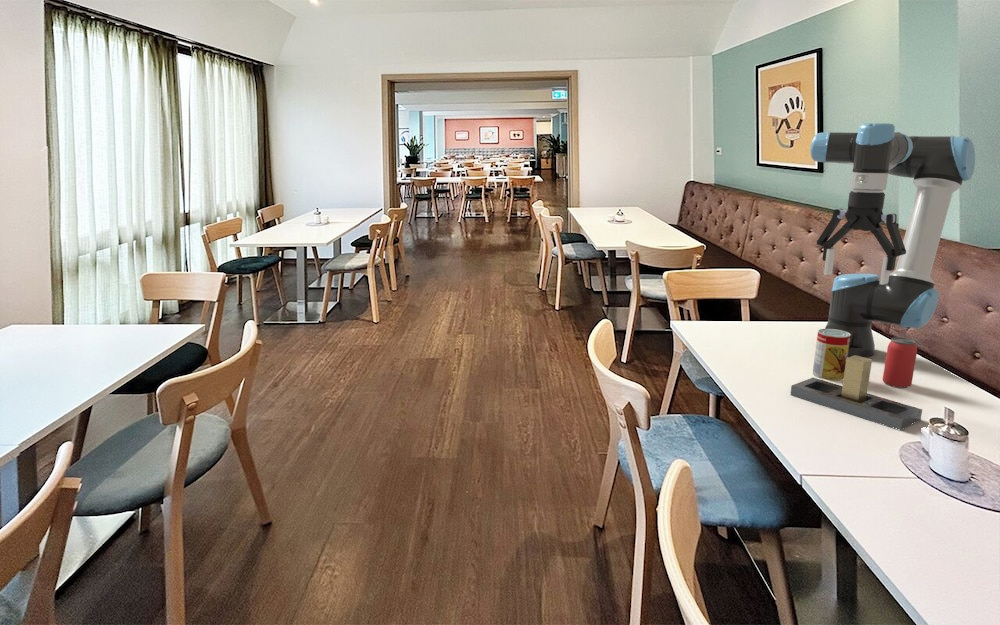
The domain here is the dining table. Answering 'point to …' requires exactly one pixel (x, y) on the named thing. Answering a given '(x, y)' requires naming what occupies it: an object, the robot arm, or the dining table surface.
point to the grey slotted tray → (857, 404)
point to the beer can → (900, 362)
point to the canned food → (831, 354)
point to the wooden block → (856, 378)
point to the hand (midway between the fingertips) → (854, 279)
